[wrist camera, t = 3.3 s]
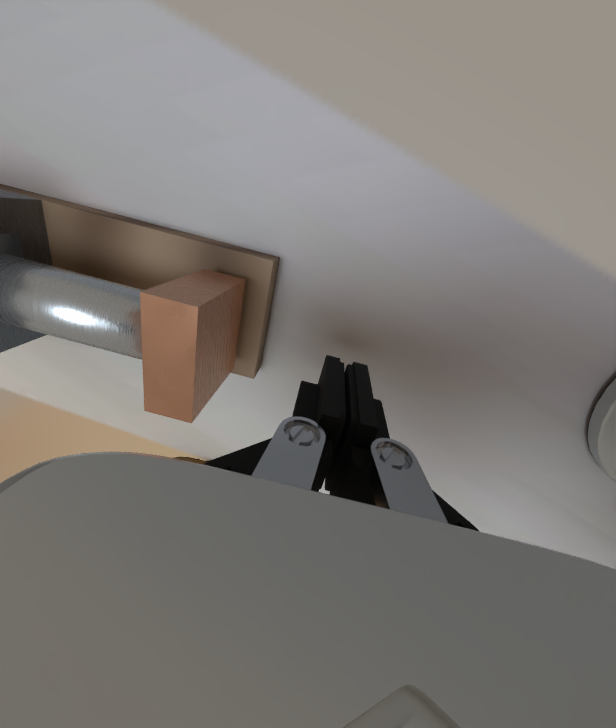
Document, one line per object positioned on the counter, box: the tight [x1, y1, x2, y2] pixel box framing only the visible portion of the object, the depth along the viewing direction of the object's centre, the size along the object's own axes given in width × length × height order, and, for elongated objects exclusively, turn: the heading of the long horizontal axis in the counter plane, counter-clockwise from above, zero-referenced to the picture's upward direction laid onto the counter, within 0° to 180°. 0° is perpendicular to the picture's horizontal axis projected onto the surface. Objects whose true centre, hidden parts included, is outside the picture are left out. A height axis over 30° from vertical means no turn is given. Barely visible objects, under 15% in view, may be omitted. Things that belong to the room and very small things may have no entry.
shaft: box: [0, 252, 245, 423], centre depth 13 cm, size 13×5×5 cm, turn 77°
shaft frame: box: [0, 184, 280, 379], centre depth 14 cm, size 18×7×8 cm, turn 77°
